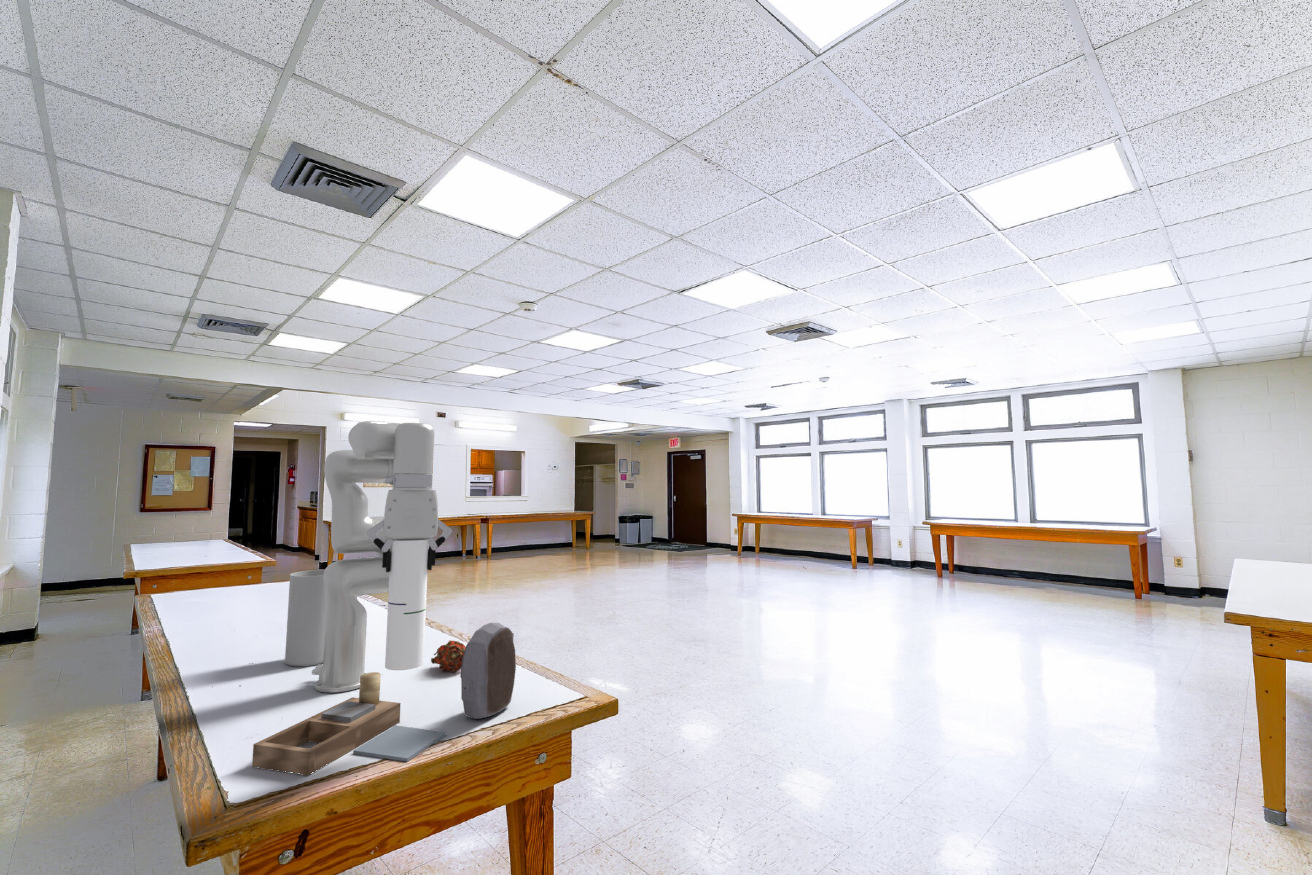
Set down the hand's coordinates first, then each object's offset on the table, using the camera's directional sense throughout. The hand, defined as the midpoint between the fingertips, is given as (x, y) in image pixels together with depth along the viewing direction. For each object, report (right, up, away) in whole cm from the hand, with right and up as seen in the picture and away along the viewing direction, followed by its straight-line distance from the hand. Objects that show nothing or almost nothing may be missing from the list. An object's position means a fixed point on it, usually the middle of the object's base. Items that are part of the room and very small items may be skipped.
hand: (408, 569), depth 118 cm
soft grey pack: (+11, -36, +14) cm, 40 cm away
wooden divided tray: (-14, -34, -2) cm, 37 cm away
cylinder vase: (-50, -38, +50) cm, 80 cm away
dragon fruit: (-7, -38, +43) cm, 58 cm away
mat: (0, -34, -3) cm, 34 cm away
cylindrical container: (0, -19, -1) cm, 19 cm away
